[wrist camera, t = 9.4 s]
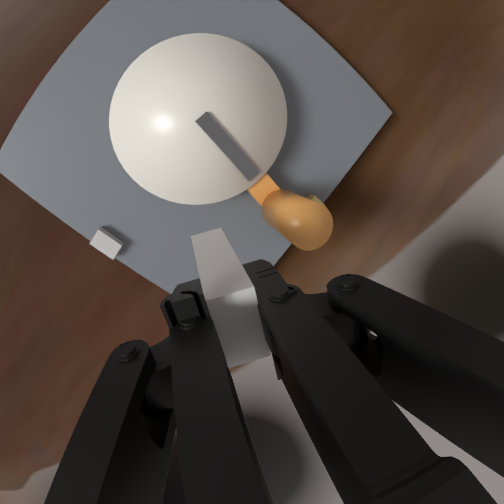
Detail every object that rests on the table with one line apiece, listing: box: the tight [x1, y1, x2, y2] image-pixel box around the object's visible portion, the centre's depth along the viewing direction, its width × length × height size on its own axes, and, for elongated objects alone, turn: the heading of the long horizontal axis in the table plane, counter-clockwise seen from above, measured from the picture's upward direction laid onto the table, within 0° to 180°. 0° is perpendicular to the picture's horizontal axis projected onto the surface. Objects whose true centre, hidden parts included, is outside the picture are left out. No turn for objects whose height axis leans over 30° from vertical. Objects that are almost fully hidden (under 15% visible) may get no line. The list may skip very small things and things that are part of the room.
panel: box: [0, 0, 392, 294], centre depth 21 cm, size 22×22×3 cm
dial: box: [109, 33, 333, 251], centre depth 17 cm, size 15×11×6 cm
